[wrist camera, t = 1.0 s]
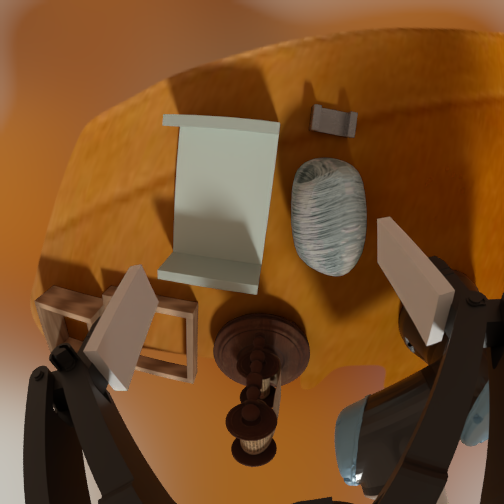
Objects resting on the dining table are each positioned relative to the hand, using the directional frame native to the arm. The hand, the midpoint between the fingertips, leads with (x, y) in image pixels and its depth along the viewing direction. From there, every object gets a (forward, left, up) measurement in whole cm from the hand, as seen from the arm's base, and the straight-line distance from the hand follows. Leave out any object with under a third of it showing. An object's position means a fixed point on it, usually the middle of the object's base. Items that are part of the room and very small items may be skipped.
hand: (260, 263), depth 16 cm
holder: (+6, +1, -22) cm, 23 cm away
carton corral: (+31, +27, -22) cm, 47 cm away
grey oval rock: (-7, +1, -23) cm, 24 cm away
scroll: (-2, +24, -23) cm, 33 cm away
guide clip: (-6, -10, -22) cm, 25 cm away
